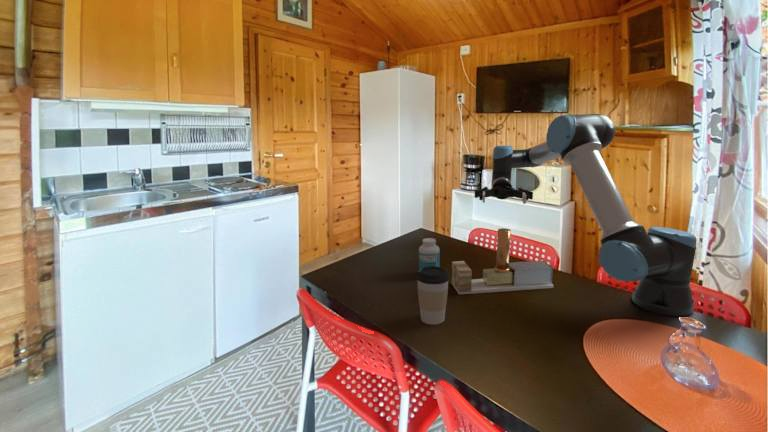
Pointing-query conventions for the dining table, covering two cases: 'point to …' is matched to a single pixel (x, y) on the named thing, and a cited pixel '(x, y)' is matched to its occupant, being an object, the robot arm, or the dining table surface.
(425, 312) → the coffee cup
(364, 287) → the dining table surface
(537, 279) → the sleeve
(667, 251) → the robot arm
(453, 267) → the socket
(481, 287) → the bed
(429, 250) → the pill bottle
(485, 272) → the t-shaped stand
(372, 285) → the dining table surface
